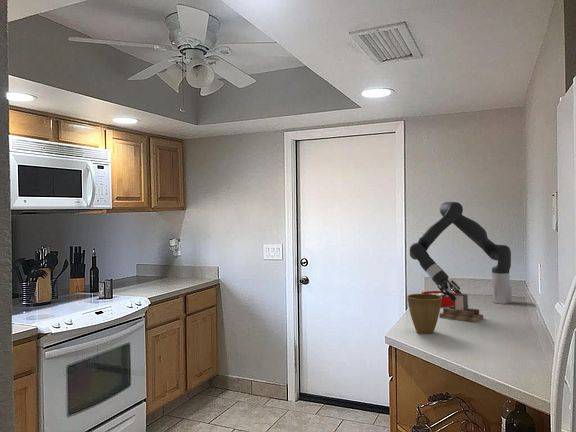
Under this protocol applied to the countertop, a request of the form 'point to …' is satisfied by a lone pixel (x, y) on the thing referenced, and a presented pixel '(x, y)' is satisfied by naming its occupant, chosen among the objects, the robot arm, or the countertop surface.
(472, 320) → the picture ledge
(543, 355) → the countertop surface
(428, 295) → the plant pot
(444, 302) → the toy clock
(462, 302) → the dark grey cuboid
